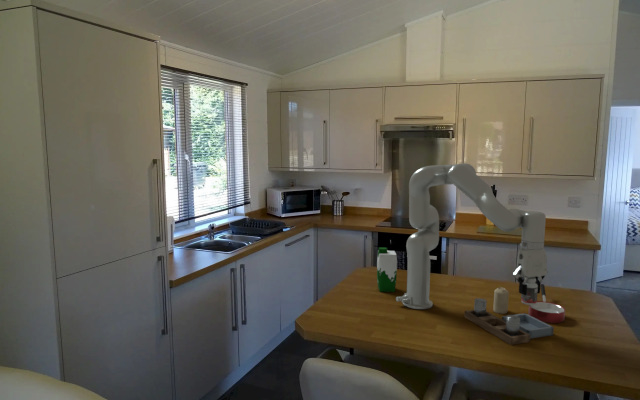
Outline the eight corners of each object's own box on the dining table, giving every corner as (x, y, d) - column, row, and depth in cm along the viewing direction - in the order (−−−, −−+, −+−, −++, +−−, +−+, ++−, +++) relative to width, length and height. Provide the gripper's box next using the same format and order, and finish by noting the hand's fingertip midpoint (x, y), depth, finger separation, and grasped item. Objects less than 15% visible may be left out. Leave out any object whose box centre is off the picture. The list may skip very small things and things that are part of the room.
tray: (528, 338, 160) (529, 330, 160) (501, 323, 174) (502, 316, 173) (553, 335, 164) (553, 327, 163) (524, 320, 177) (525, 313, 177)
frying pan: (520, 295, 207) (520, 281, 206) (551, 298, 203) (552, 284, 202) (530, 321, 177) (531, 305, 176) (567, 325, 173) (569, 309, 172)
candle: (508, 314, 183) (510, 290, 182) (494, 313, 185) (495, 289, 183) (506, 309, 189) (507, 286, 188) (492, 308, 190) (493, 285, 189)
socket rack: (510, 344, 156) (511, 338, 155) (464, 316, 180) (464, 310, 180) (529, 341, 158) (530, 335, 158) (481, 314, 183) (481, 308, 182)
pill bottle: (518, 303, 167) (520, 277, 166) (523, 299, 171) (524, 274, 170) (534, 306, 163) (535, 280, 162) (538, 302, 167) (540, 277, 166)
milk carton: (375, 286, 218) (376, 245, 215) (394, 286, 218) (395, 246, 215) (377, 292, 209) (378, 250, 207) (397, 292, 209) (398, 250, 206)
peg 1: (478, 322, 175) (479, 302, 174) (471, 318, 179) (472, 298, 178) (487, 321, 176) (489, 301, 175) (480, 317, 180) (481, 297, 179)
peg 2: (511, 342, 158) (512, 320, 157) (502, 336, 162) (503, 315, 161) (521, 340, 159) (522, 318, 158) (512, 335, 163) (513, 314, 162)
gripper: (520, 249, 158) (517, 298, 161) (559, 245, 164) (555, 294, 166) (505, 244, 166) (503, 292, 168) (543, 241, 171) (540, 287, 173)
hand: (529, 292), depth 167 cm, fingers closed on pill bottle, 5 cm apart
